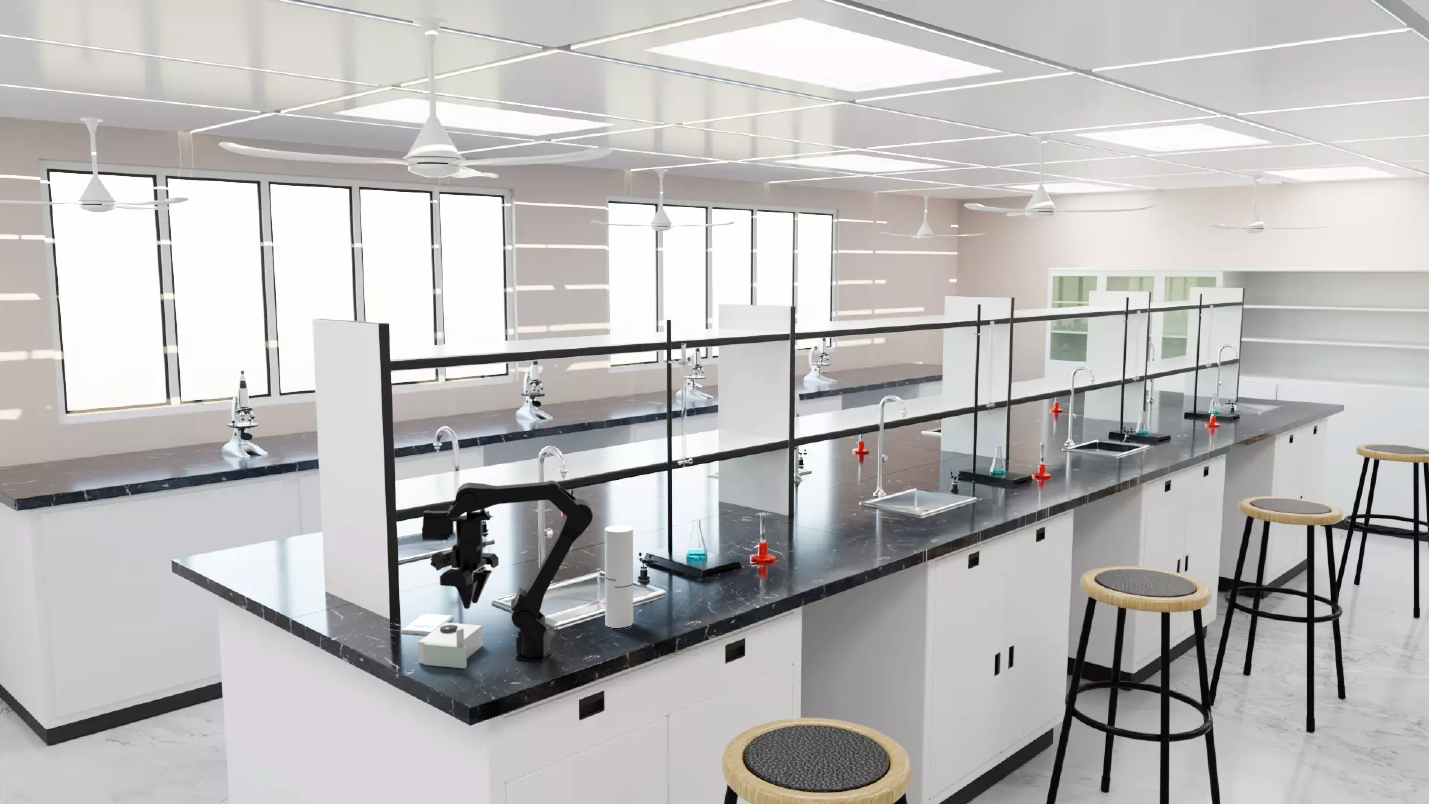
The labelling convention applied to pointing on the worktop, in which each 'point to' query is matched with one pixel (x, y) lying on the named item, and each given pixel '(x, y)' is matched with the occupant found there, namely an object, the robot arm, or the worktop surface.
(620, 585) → the cylindrical container
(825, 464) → the worktop surface
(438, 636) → the instrument case
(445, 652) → the side door
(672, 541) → the worktop surface
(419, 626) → the external hard drive
